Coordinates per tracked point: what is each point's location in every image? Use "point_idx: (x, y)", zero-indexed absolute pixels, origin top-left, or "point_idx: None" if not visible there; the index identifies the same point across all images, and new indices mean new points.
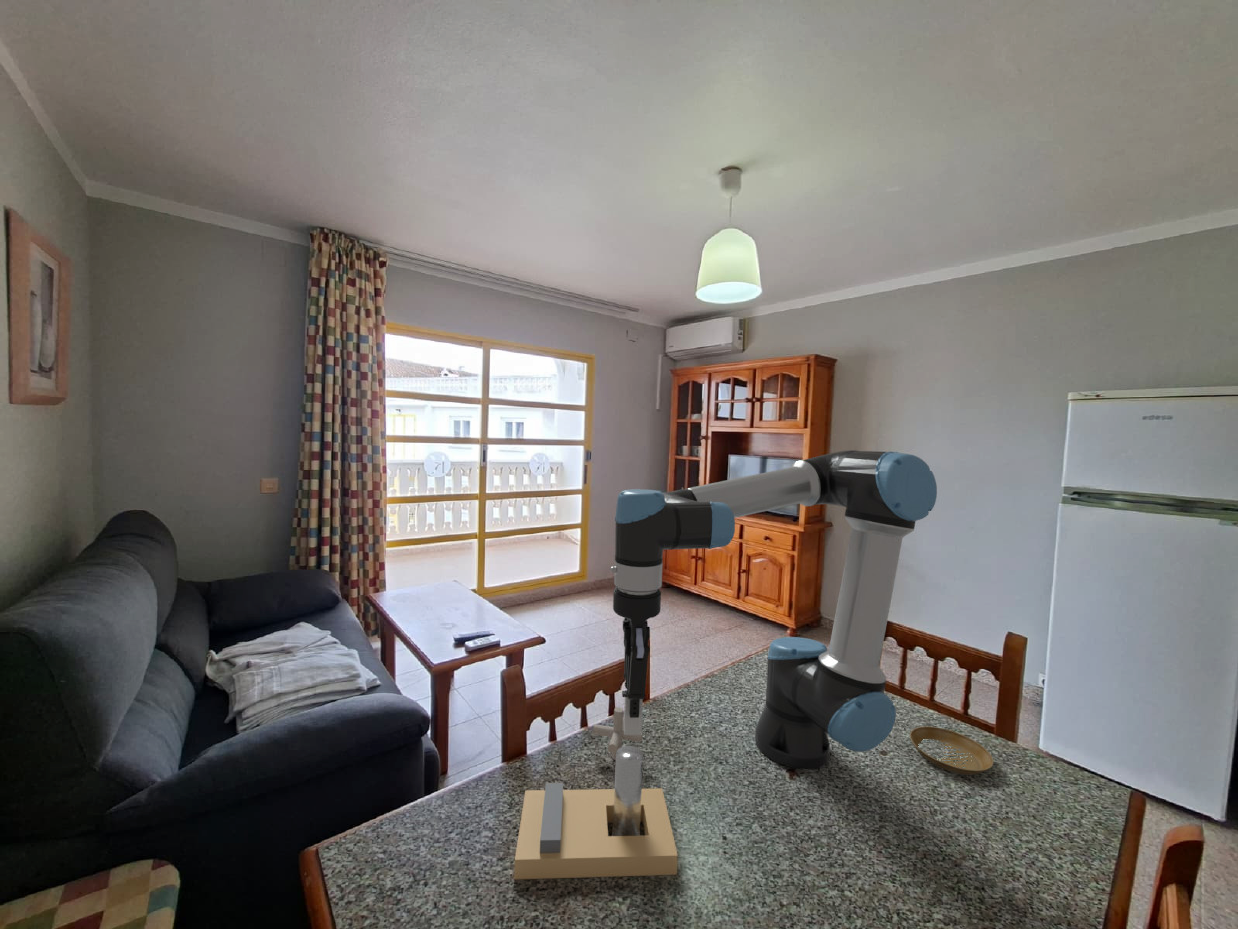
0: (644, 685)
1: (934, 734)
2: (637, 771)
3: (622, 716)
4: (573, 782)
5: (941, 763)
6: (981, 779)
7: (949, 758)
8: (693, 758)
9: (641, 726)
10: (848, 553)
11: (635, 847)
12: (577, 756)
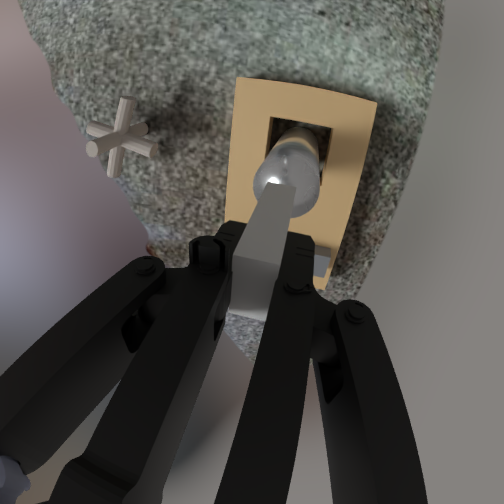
0: (395, 386)
1: None
2: (317, 171)
3: (101, 139)
4: (188, 194)
5: None
6: None
7: None
8: (152, 16)
9: (293, 197)
10: None
11: (349, 155)
12: (141, 183)
